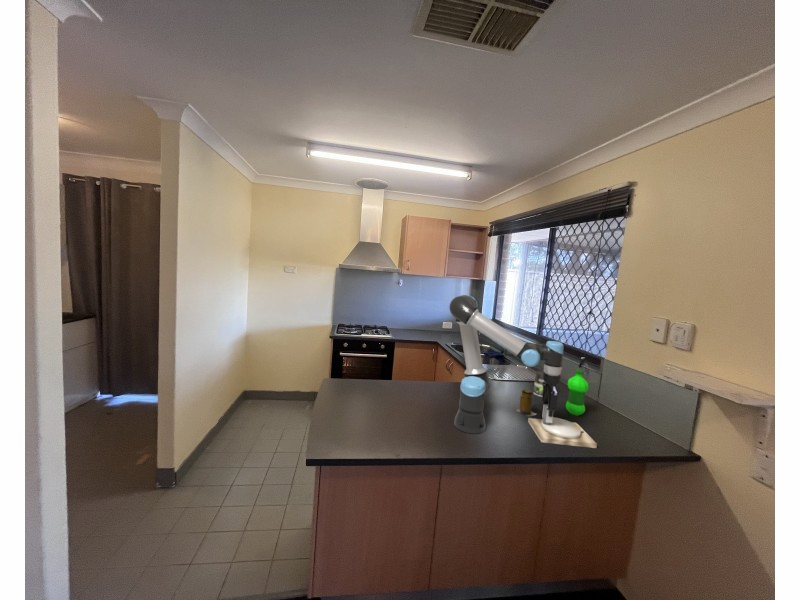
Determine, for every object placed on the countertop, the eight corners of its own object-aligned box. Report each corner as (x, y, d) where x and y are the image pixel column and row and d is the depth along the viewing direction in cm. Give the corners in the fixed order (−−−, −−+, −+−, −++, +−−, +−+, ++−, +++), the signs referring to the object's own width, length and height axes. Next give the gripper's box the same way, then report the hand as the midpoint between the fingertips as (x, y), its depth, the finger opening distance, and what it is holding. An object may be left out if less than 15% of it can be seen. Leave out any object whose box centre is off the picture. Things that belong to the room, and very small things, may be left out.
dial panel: (541, 442, 143) (542, 437, 143) (528, 421, 163) (528, 417, 162) (596, 448, 141) (597, 443, 140) (576, 426, 160) (576, 422, 160)
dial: (585, 441, 141) (588, 418, 140) (545, 435, 145) (547, 412, 144) (573, 424, 158) (576, 403, 157) (537, 418, 161) (540, 398, 160)
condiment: (524, 408, 179) (526, 388, 178) (537, 414, 172) (539, 393, 171) (515, 410, 176) (517, 389, 175) (528, 417, 168) (530, 395, 167)
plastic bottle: (564, 414, 174) (569, 371, 171) (564, 407, 183) (569, 366, 181) (585, 419, 169) (590, 374, 167) (584, 412, 178) (589, 369, 176)
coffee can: (551, 398, 196) (554, 376, 195) (534, 395, 199) (536, 374, 198) (549, 392, 206) (551, 372, 205) (532, 390, 209) (534, 369, 208)
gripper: (567, 380, 141) (562, 429, 143) (553, 368, 158) (548, 412, 160) (550, 379, 142) (545, 427, 144) (537, 367, 159) (533, 411, 161)
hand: (547, 419), depth 152 cm, fingers open, 4 cm apart
